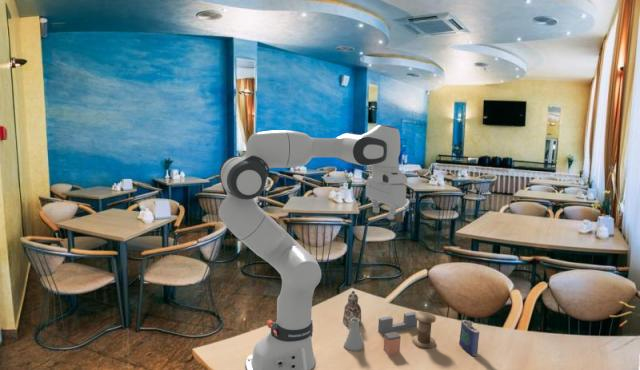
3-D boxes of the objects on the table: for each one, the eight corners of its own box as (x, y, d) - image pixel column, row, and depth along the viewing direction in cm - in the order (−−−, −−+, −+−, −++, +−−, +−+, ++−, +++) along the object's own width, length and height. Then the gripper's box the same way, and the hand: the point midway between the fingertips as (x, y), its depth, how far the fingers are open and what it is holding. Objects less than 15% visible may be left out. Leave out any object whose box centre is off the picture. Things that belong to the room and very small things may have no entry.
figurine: (341, 325, 161) (342, 295, 159) (344, 316, 167) (345, 288, 165) (359, 327, 159) (361, 298, 157) (362, 319, 166) (363, 290, 164)
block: (388, 354, 141) (389, 338, 140) (383, 349, 144) (384, 333, 143) (399, 352, 143) (400, 336, 142) (394, 347, 146) (395, 331, 145)
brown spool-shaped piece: (420, 350, 144) (422, 323, 143) (408, 338, 152) (409, 313, 150) (439, 346, 147) (441, 319, 146) (426, 335, 155) (428, 309, 153)
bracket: (380, 334, 154) (381, 320, 154) (378, 331, 156) (378, 318, 155) (416, 327, 160) (417, 313, 159) (414, 325, 162) (415, 311, 161)
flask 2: (478, 356, 142) (481, 327, 140) (471, 357, 141) (473, 328, 139) (463, 342, 150) (466, 314, 149) (456, 343, 150) (458, 315, 148)
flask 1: (340, 348, 144) (341, 321, 143) (348, 338, 151) (349, 313, 149) (359, 354, 141) (360, 327, 139) (367, 344, 147) (368, 318, 146)
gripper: (362, 170, 145) (360, 209, 148) (392, 179, 127) (390, 223, 129) (377, 170, 148) (376, 208, 150) (410, 178, 129) (407, 222, 131)
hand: (383, 215), depth 139 cm, fingers open, 8 cm apart
